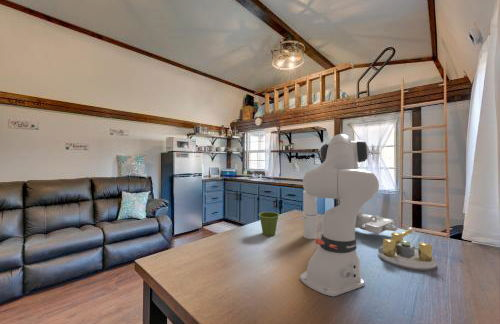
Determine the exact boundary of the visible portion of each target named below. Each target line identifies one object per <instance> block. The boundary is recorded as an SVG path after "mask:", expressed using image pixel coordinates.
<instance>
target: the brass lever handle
mask: <svg viewBox="0 0 500 324" xmlns="http://www.w3.org/2000/svg"><path fill="white" fill-rule="evenodd" d="M414 233H415V229H414V228H413V227H408V228H407V229H406V230H404V231H403V232H401V233H400V232H396V231H392V232H391V237H390V239H391V240H394V241H395V248H396V245H397V244H398V243H400V242H401V241H402V240H404V238H405V237H406V236H408V235H413V234H414Z"/></svg>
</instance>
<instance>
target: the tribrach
mask: <svg viewBox="0 0 500 324" xmlns="http://www.w3.org/2000/svg"><path fill="white" fill-rule="evenodd" d="M417 243H418V244H417V246H418V247H417V248H418V249H417V248H416V246H415V245H414V244H411V242H410V241H409V240H404V239H403V240H402V241H401V242H400V243H398V244H397V245H396V248H395V241H394V240H391V238H383V239H382V246H380V247H379V248H378V250H377V253H378V254H377V255H378V257H379V258H380V259H381V260H382V261H384V262H386V263H388V264H390V265H392V266H395V267H398V268H401V269H406V270H411V271H418V272H425V271H427V272H429V271H433V270H435V269H436V268H437V260H436V258H435V257H434V256H433V244H430V243H428V242H423V241H422V242H421V241H420V242H417Z"/></svg>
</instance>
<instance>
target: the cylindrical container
mask: <svg viewBox="0 0 500 324" xmlns="http://www.w3.org/2000/svg"><path fill="white" fill-rule="evenodd" d="M302 193H303V194H302V198H303V200H302V201H303V203H302V211H303V215H302V216H303V219H302V222H303V225H302V227H303V230H302V235H303V238H304V239H308V240H314V239H315V240H316V239H317V238H318V230H317V229H318V225H317V224H318V214H317V213H318V206H317V205H318V197H315V196H311V195H308V194H307V193H306V192H305V190H303V191H302Z"/></svg>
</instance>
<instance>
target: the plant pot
mask: <svg viewBox="0 0 500 324" xmlns="http://www.w3.org/2000/svg"><path fill="white" fill-rule="evenodd" d="M258 217H259V220H260V225H261V231H262V234H263V236H267V237H272V236H274V235H276V233H277V225H278V220H279V217H280V213H278V212H273V211H262V212H260V213H258Z"/></svg>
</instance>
